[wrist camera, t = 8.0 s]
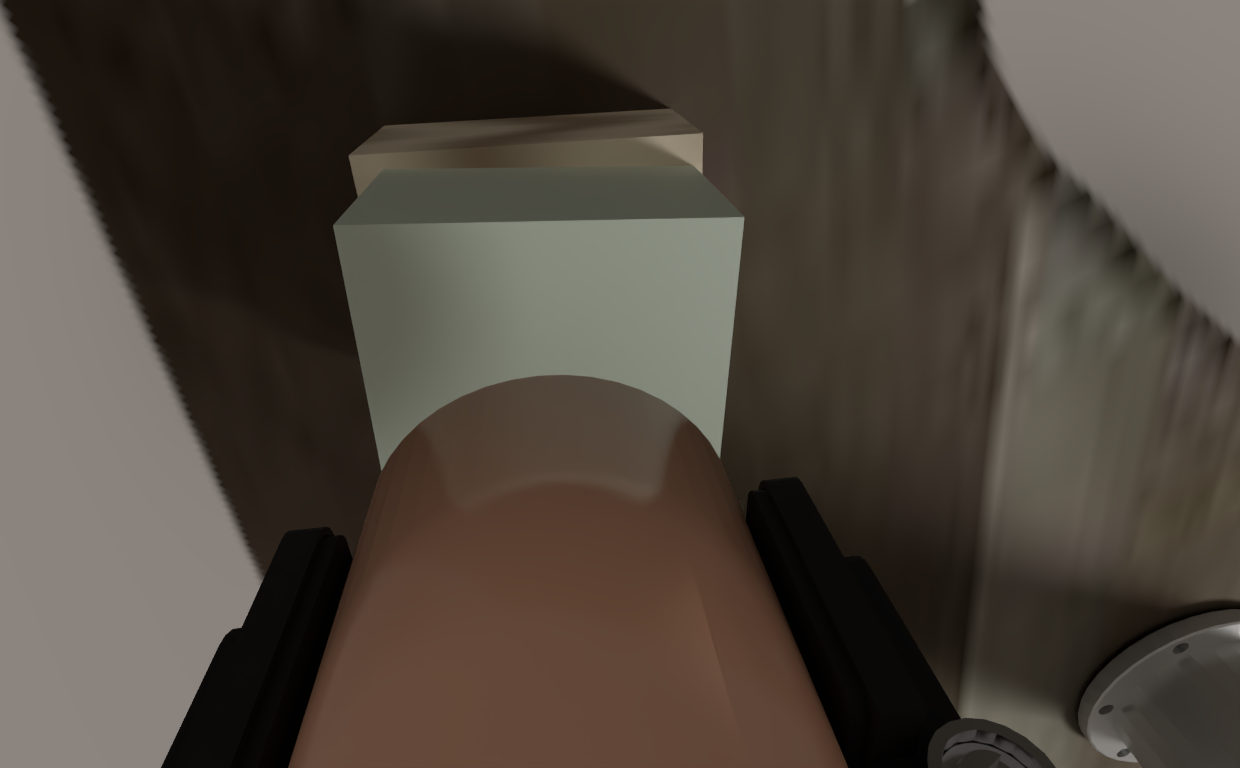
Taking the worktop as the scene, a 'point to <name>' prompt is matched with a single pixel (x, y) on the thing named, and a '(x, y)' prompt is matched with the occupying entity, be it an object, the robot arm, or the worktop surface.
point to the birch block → (533, 143)
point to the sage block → (540, 285)
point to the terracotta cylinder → (560, 600)
